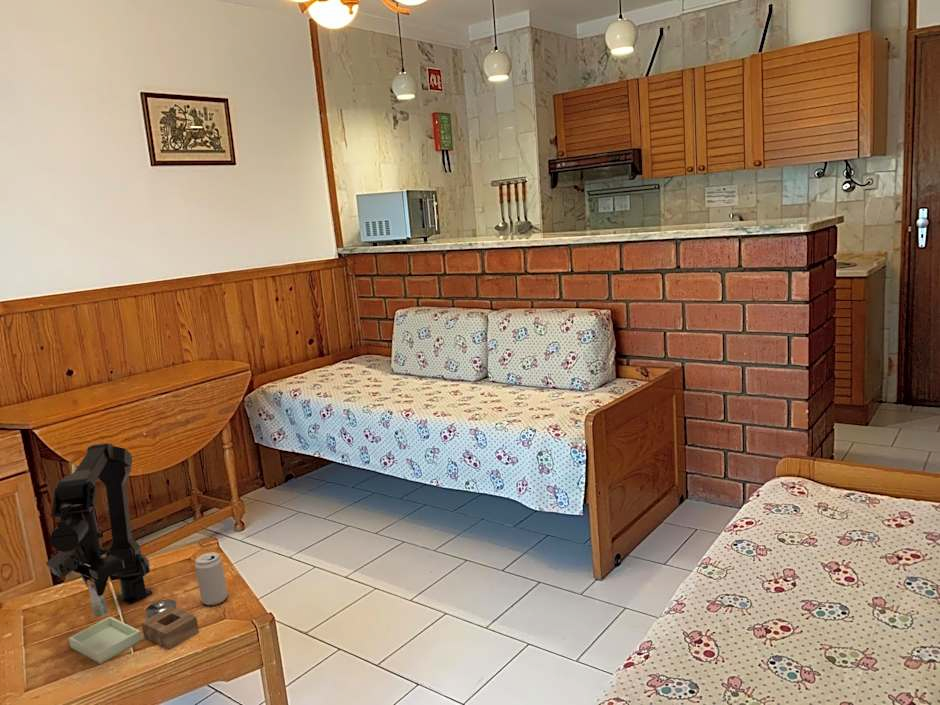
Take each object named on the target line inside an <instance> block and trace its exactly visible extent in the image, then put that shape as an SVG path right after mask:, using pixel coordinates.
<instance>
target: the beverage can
mask: <svg viewBox="0 0 940 705" xmlns="http://www.w3.org/2000/svg"><path fill="white" fill-rule="evenodd" d="M223 567H224V564H223V560H222V557H220V554H219V553H218V552H216V551H215V552H211V551H210V552H206V553H203V554H201V555H199V556H198V557H197V558H196V559H195V565H194V568H195V572H196V579H197V583H198V589H199V594H200V601H201V603H202V604H204V605H206V606H217V605H219V604H221V603H223V602H224V601H225V600H226V598H227V597H228V590H227V589H228V588H227V585H226V578H225V571H224V568H223Z"/></svg>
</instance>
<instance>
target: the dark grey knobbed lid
mask: <svg viewBox="0 0 940 705" xmlns="http://www.w3.org/2000/svg"><path fill="white" fill-rule="evenodd" d="M171 606H173V607H175V608H177V609H178V605H177V602H176V600H175V599H170V598H168V599H167V598H166V599H161V600H157V601H155V602H153V603H151V604H150V605H148V606H147V607H146V609H145V613H146V620H147V619H149V618H150V617H152V616H154V615H156V614H158V613H160V612H162V611H163V610H165V609H167V608H169V607H171Z"/></svg>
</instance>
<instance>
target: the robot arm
mask: <svg viewBox="0 0 940 705" xmlns="http://www.w3.org/2000/svg"><path fill="white" fill-rule="evenodd" d="M86 450H87V451H86V452H87V453H86V454H85V455H84V457H83V459H82V460H81V461H80V463H79V465H78V466H77V467H76V469H75V471H74V472H73V473H71V474H68V475H66V476H64V477H63V478H61V480H60V481H59V482H58V483H57V484H56V486H55V489H54V494H53V507H52V518H53V519H55V518H59V517H60V519H59V520H57V521H56V527H55V529H54V530H52V532H51V533H50V538H49V542H50V545H51V547H53V549H55V550H57V551H58V552H57V553H56V554H55V555H53V556H52V557H51V558H50V559H49V560H47V561H46V563H45V564H46V566H47V567H48V569H49V570H50V571H51V573H52V574H53V575H54V576H58V577H59V578H65V577H66V576H67V575H68V574H69V573H71V572H73V571H74V572H75V573H78V574H79V576H80V577H81V579H82V580H83V582H84V584H85V586H86V587H87V589H88V590H89V588H88V583H87V579H88V578H91V580H92V582H93V585H94V588H95V590H96V593H97V595H98V596H101V595H103V594H104V595H105V589H106V587H107V584H108V580H109V579H110V581H111V582H113V581H117V580H118V581H119V586H120V587H119V588H120V591H121V594H119V595H117V596H116V599H117V600H118V601H121V602H123V603H125V604H128V605H131V604H134V603H136V602H138V601H140V600H141V599H143V598H145V597H147V596H149V595H152V593H153V591H152V590H150V589H148V588H146V584H145V578H144V577H145V576H146V575H147V574H149V573H150V572H151V568H150V560H149V559H148V558H147V557H146V556H145V555H144V554H143V553H142V549H141V546H140V544H139V543H138V542H137V541H136V540H135V539H134V537H133V532H132V526H131V517H130V516H131V515H130V508H129V500H128V499H129V498H128V491H127V490H128V489H127V480H128V478H129V476H130V474H131V472H132V464H133V456H132V454H131V452H130V451H129V450H127V449H126V448H125V447H120V446H115V445H113V444H111V443H108V442H106V443H99V444H98V443H97V444H92V445H90V446H88V448H87V449H86ZM97 480H100V482H101V483H102V484H103V485H104V486H105V490H106V491H105V492H106V498H107V508H108V516H109V525H110V533H111V534H110V535H111V544H110V547H109V549H108V550H107V548H105V547H102V541H101V538H103V537H104V532H102V531H100V530H99V527H98V522H97V517H96V513H95V507H96V500H97V493H98V487H97V484H96V481H97ZM104 555H105V556H104ZM102 556H104V557H102Z"/></svg>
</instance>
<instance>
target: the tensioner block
mask: <svg viewBox="0 0 940 705" xmlns="http://www.w3.org/2000/svg"><path fill="white" fill-rule="evenodd" d="M141 628H142V633H143V637H144V639H146V640H147V641H150V642H152V643H154V644H156V645H158V646H160V647H161V648H165V649H167V650H168V649H169V650H170V648H171V649H172V648H174V647H175V645H176V646H177V645H179V644H181V643H183V642H184V641H186V640H188V639H190V638H191V637H193V636H194V635H195V634H198V633H199V632H200V630H199V625H198V620H197V616H196V615H194V614H192V613H189V612H186V611H184V610H182V609H179V608H178V607H177V608H175V607H173V606H171V607H169V608H167V609H165V610H163V611H162V612H160V613H158V614H156V615H154V616H152V617H150V618H149V619H147V618H146V619H145V620H143V621H141Z"/></svg>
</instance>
